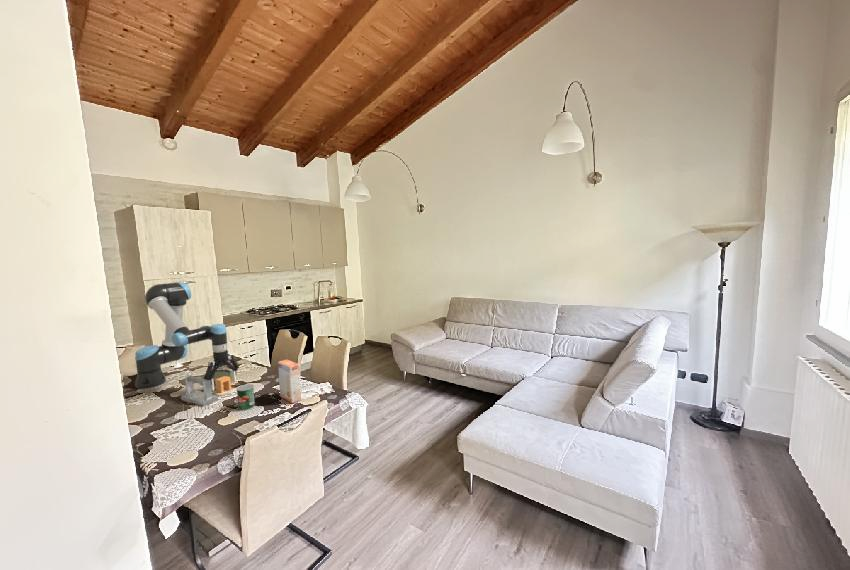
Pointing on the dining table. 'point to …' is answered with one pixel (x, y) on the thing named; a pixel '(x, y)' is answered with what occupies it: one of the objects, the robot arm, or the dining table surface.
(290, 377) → the cracker box
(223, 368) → the food container
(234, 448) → the dining table surface
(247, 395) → the canned tomato
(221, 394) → the pad
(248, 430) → the dining table surface
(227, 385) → the orange notched sleeve
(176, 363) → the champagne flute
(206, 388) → the rail stand
